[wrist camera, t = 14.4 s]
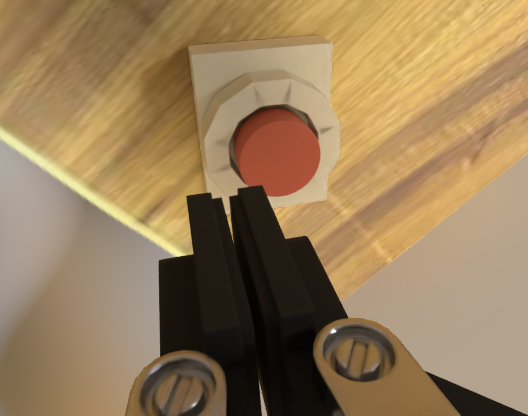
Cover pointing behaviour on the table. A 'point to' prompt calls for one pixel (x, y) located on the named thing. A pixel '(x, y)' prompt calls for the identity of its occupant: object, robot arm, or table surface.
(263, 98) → the button base
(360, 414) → the robot arm
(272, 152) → the red push button
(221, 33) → the table surface
